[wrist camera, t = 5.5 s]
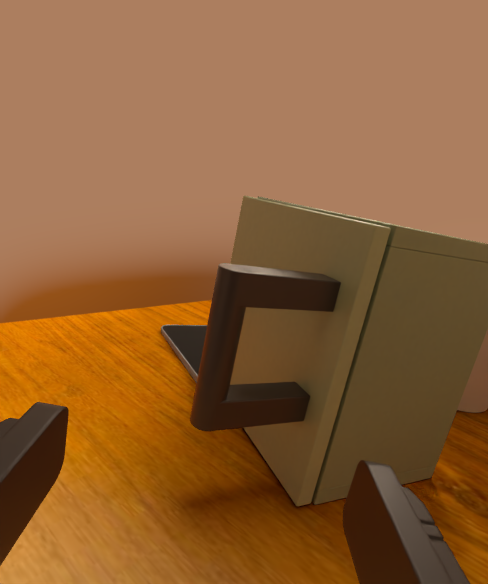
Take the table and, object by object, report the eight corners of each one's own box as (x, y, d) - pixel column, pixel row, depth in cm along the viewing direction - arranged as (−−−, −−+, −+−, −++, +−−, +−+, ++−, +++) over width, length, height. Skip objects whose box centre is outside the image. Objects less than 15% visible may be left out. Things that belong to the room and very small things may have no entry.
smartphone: (218, 325, 46) (288, 388, 34) (217, 332, 46) (286, 398, 34) (158, 324, 42) (211, 395, 30) (157, 332, 43) (209, 405, 30)
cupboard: (314, 505, 22) (396, 225, 18) (220, 378, 34) (257, 196, 30) (431, 478, 26) (517, 250, 22) (311, 374, 39) (353, 216, 35)
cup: (401, 393, 39) (440, 279, 36) (393, 361, 47) (423, 266, 44) (500, 423, 37) (549, 304, 34) (473, 383, 45) (510, 286, 42)
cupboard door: (187, 532, 18) (254, 200, 14) (134, 379, 31) (163, 179, 27) (311, 504, 22) (391, 227, 18) (218, 376, 34) (254, 197, 30)
